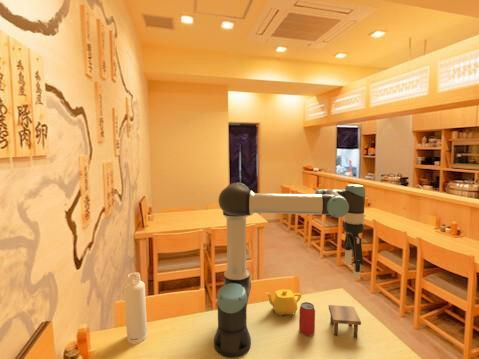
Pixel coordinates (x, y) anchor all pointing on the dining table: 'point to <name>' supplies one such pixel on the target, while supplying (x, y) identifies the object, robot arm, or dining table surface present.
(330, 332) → the dining table surface
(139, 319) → the bottle
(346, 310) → the stool
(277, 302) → the teapot
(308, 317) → the beer can
